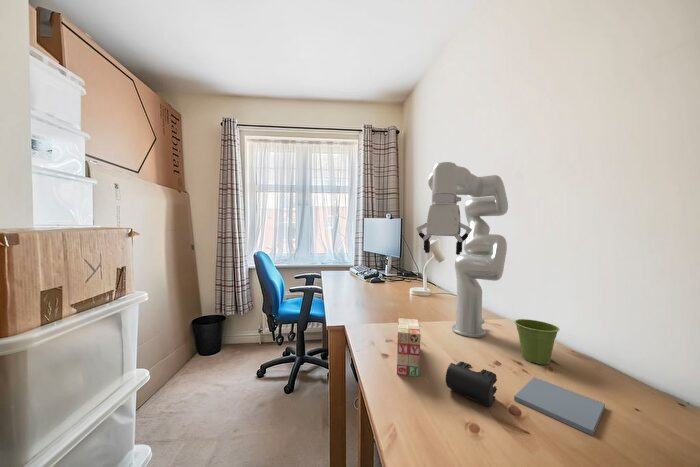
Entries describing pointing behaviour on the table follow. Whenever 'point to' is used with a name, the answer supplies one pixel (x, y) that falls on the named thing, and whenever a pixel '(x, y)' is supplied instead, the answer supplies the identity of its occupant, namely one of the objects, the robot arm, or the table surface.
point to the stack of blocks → (408, 347)
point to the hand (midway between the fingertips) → (442, 253)
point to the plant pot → (536, 340)
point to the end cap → (472, 383)
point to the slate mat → (562, 404)
